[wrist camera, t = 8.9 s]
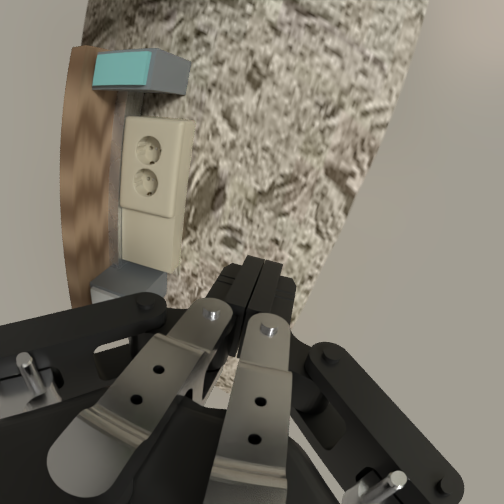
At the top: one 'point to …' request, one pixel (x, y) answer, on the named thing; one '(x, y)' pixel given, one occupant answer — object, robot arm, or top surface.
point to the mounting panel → (85, 174)
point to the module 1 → (141, 71)
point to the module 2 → (127, 282)
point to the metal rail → (119, 171)
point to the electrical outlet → (154, 189)
